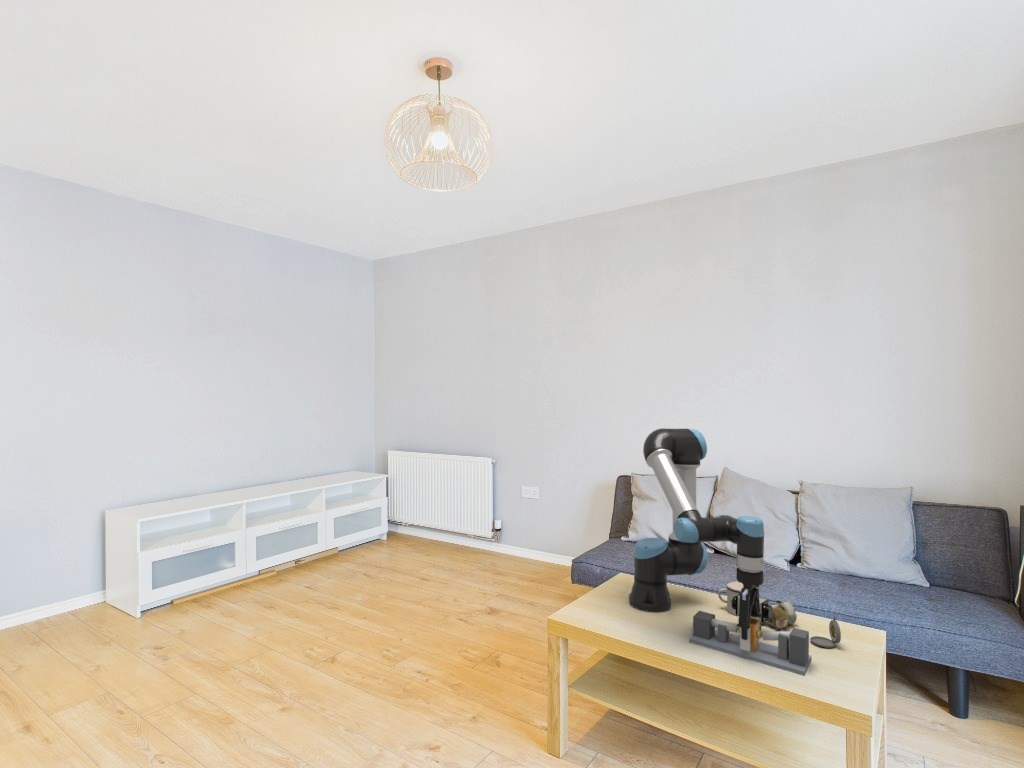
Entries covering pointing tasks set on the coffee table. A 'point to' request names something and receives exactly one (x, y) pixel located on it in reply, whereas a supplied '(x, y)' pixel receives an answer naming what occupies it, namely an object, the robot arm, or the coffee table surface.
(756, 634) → the universal joint coupler
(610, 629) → the coffee table surface
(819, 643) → the pocket watch
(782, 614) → the ceramic sculpture
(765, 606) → the pneumatic valve
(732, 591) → the teacup with lid
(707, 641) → the shaft rig
